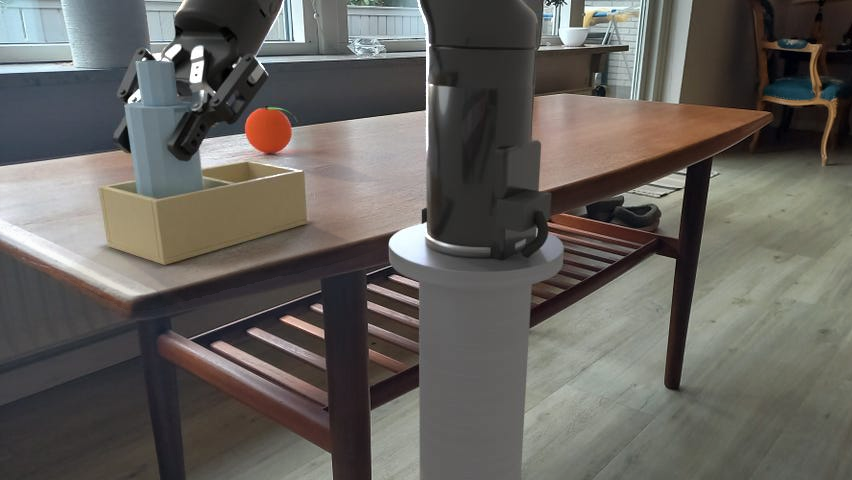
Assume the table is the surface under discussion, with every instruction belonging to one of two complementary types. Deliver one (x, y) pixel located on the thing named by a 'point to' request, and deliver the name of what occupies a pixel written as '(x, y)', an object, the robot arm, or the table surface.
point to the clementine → (268, 130)
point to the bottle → (159, 135)
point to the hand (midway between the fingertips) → (149, 151)
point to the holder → (205, 212)
